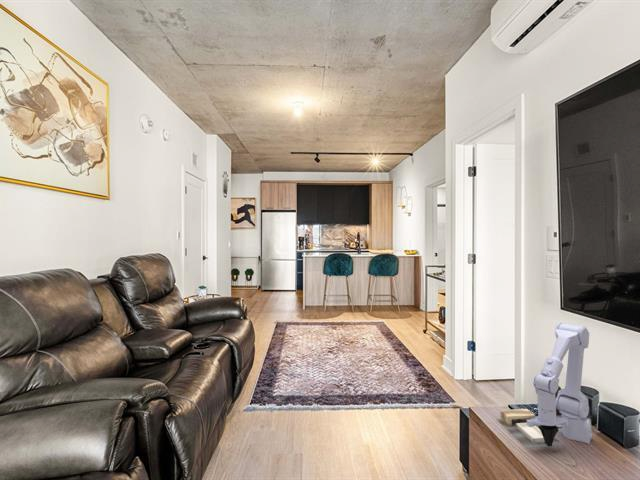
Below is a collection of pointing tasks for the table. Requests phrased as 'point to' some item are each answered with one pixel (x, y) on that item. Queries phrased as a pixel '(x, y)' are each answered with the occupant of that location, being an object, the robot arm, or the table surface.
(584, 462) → the table surface
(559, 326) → the robot arm
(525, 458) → the table surface
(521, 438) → the overhang board
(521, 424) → the tray shell
